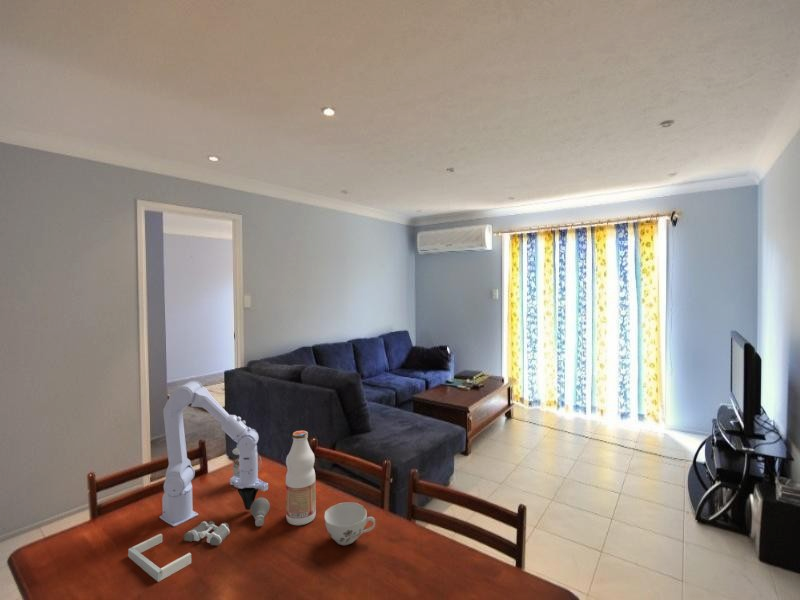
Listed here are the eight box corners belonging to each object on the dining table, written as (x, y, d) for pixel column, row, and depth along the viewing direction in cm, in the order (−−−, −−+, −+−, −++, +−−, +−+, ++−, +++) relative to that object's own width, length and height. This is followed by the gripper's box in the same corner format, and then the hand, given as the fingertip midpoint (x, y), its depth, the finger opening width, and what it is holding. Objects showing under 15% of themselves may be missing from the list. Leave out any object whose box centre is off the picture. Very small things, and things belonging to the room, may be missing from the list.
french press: (238, 478, 157) (237, 416, 157) (266, 479, 156) (265, 416, 156) (225, 490, 147) (224, 424, 147) (254, 492, 146) (253, 425, 146)
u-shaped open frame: (128, 557, 110) (128, 549, 110) (160, 541, 117) (160, 533, 117) (158, 582, 100) (158, 572, 100) (191, 563, 107) (191, 553, 107)
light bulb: (264, 512, 123) (264, 490, 132) (245, 522, 122) (247, 499, 131) (272, 525, 125) (272, 502, 134) (254, 535, 124) (256, 511, 133)
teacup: (319, 552, 111) (319, 524, 111) (329, 526, 124) (329, 501, 124) (373, 553, 111) (372, 525, 111) (377, 527, 123) (376, 502, 123)
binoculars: (183, 542, 117) (183, 531, 117) (202, 527, 125) (202, 516, 125) (218, 548, 114) (218, 536, 114) (235, 531, 122) (235, 520, 122)
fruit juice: (296, 530, 122) (295, 440, 122) (280, 518, 129) (279, 433, 128) (321, 517, 129) (320, 432, 129) (305, 507, 135) (304, 425, 135)
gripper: (222, 469, 131) (223, 510, 131) (257, 476, 126) (257, 518, 126) (238, 461, 137) (239, 499, 138) (272, 467, 132) (272, 507, 132)
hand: (249, 508), depth 132 cm, fingers closed
